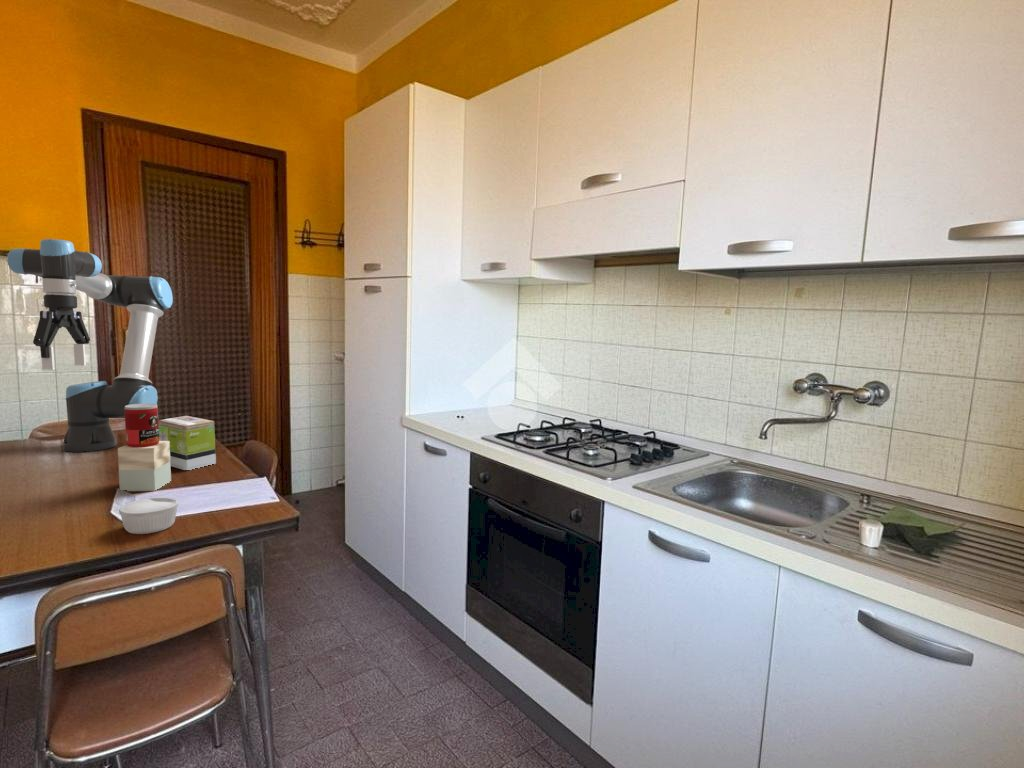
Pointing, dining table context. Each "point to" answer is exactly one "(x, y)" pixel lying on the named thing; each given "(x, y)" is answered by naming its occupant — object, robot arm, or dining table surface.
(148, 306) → the robot arm
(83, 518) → the dining table surface
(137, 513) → the ramekin
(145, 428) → the canned food
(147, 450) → the top block
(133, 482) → the lower block
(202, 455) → the tea box
